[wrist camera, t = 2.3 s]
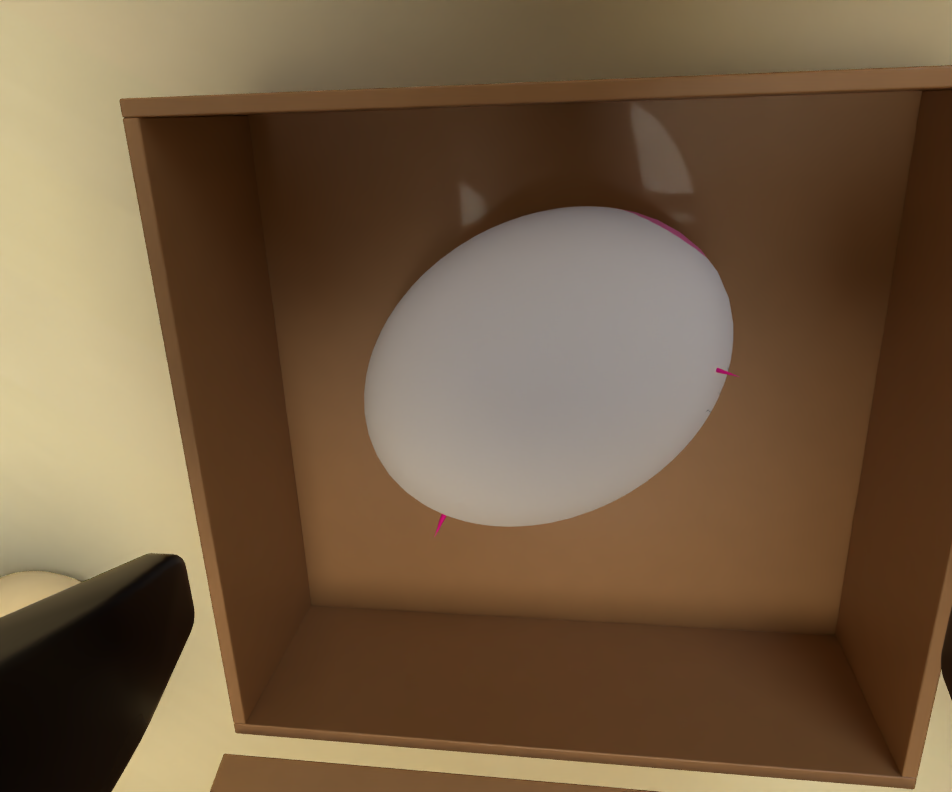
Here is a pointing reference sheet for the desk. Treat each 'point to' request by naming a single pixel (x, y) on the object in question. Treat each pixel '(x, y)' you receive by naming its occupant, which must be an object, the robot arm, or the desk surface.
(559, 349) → the stress ball
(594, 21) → the desk surface
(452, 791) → the flap
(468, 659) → the carton
